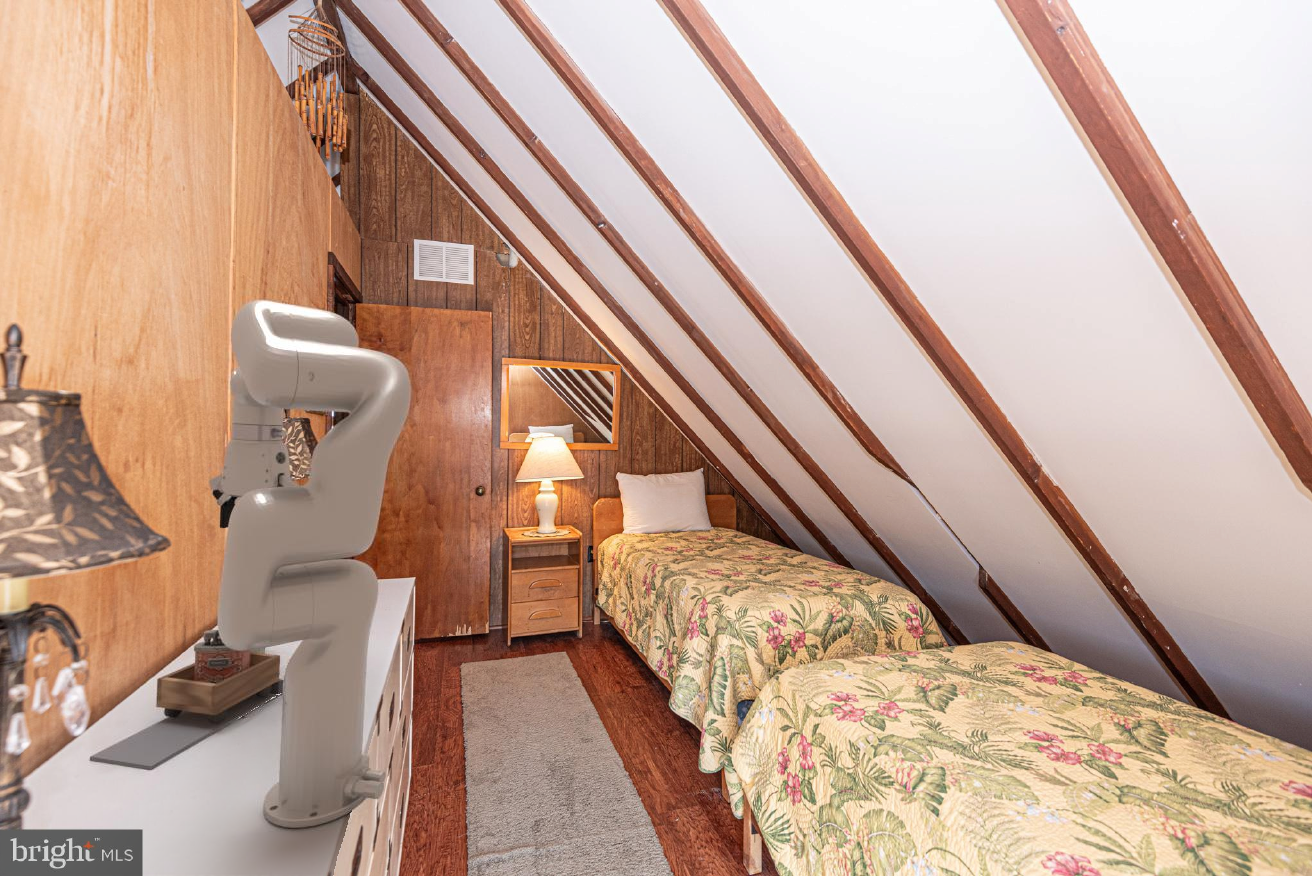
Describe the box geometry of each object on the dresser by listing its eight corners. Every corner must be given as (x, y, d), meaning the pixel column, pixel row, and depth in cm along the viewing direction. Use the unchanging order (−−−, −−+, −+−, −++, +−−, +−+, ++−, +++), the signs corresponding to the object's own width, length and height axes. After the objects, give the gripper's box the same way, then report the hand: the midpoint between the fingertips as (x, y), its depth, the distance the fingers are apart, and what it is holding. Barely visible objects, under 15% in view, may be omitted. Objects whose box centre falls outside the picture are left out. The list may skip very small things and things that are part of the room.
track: (282, 693, 103) (283, 679, 103) (151, 769, 80) (151, 752, 80) (233, 686, 104) (234, 673, 104) (89, 760, 81) (90, 742, 81)
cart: (278, 692, 101) (280, 655, 101) (214, 729, 89) (216, 686, 89) (225, 685, 103) (227, 648, 103) (155, 720, 90) (157, 678, 90)
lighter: (188, 694, 93) (190, 633, 93) (197, 684, 96) (200, 626, 96) (245, 690, 95) (248, 630, 95) (253, 681, 99) (256, 623, 98)
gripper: (316, 437, 105) (312, 529, 106) (231, 431, 107) (227, 522, 108) (285, 437, 98) (281, 536, 98) (195, 431, 100) (190, 528, 100)
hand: (253, 529), depth 103 cm, fingers open, 9 cm apart
